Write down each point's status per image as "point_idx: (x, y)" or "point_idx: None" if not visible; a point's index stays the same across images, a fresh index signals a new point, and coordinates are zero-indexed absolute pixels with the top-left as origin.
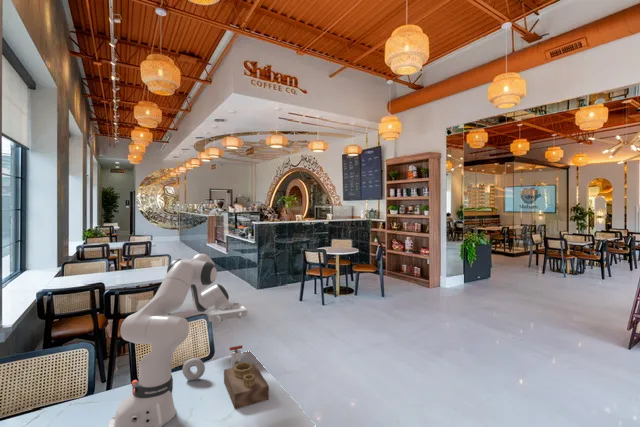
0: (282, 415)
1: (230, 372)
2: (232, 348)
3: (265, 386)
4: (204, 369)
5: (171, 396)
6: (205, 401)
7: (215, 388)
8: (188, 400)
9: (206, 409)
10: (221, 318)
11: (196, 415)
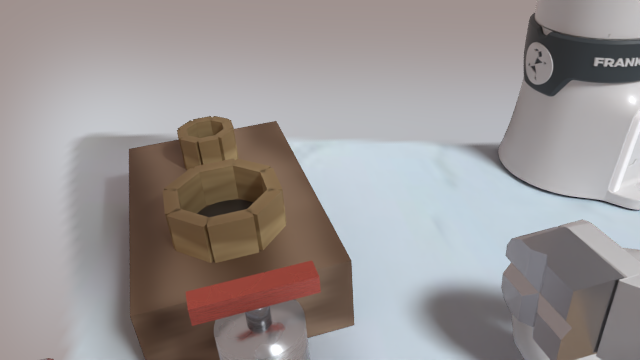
0: (128, 149)
1: (304, 232)
2: (288, 269)
3: (144, 146)
4: (512, 320)
5: (522, 95)
6: (411, 209)
7: (392, 282)
8: (494, 218)
9: (390, 177)
10: (545, 231)
11: (417, 158)
